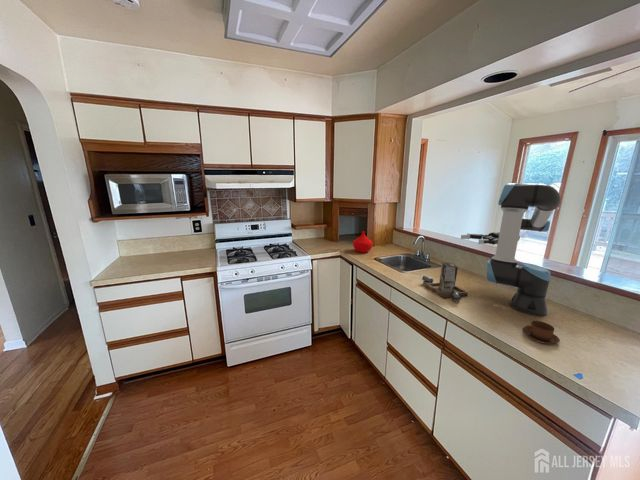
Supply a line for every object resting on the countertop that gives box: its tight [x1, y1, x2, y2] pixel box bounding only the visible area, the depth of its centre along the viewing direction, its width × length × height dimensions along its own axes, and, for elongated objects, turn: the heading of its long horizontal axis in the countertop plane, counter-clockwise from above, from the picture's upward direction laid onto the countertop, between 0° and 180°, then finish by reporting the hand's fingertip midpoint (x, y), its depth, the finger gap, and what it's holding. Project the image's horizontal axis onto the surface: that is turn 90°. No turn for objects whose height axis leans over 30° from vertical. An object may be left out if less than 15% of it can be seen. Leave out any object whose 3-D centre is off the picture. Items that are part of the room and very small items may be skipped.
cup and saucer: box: [522, 320, 560, 345], centre depth 106 cm, size 12×12×6 cm
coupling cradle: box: [425, 282, 469, 300], centre depth 151 cm, size 16×16×2 cm
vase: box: [352, 230, 374, 254], centre depth 234 cm, size 18×18×19 cm
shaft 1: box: [421, 275, 434, 286], centre depth 160 cm, size 6×3×5 cm, turn 35°
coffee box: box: [438, 262, 459, 293], centre depth 149 cm, size 9×6×16 cm
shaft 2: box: [450, 291, 462, 304], centre depth 138 cm, size 6×3×5 cm, turn 174°
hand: (469, 239), depth 157 cm, fingers open, 13 cm apart
